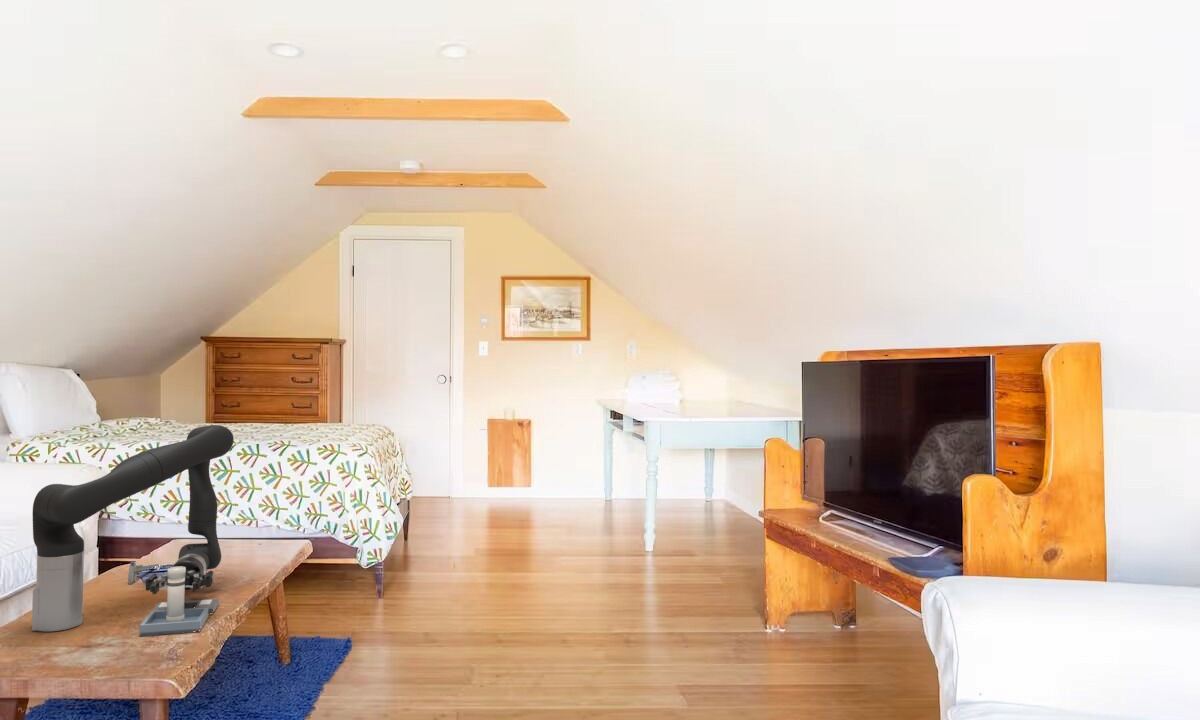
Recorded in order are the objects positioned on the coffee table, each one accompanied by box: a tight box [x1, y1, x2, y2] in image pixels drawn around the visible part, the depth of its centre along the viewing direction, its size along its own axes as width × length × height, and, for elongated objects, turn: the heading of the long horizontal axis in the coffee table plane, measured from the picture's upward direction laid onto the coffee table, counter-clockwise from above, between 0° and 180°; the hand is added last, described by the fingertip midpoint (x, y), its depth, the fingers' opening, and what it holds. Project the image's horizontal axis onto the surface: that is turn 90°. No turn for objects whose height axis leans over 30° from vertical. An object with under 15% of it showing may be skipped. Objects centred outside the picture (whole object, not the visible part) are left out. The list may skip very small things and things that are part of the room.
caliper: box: [127, 561, 159, 585], centre depth 234 cm, size 20×1×6 cm, turn 9°
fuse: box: [166, 566, 186, 623], centre depth 190 cm, size 4×4×13 cm
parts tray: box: [139, 608, 209, 637], centre depth 190 cm, size 12×11×2 cm
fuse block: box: [151, 598, 220, 614], centre depth 201 cm, size 14×9×2 cm, turn 107°
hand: (174, 588), depth 188 cm, fingers open, 8 cm apart
